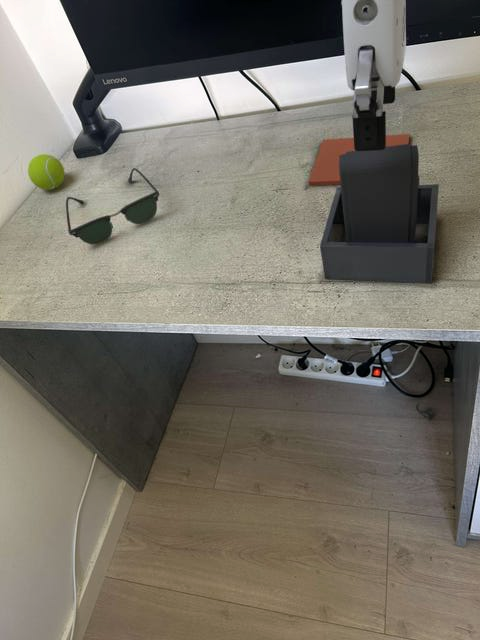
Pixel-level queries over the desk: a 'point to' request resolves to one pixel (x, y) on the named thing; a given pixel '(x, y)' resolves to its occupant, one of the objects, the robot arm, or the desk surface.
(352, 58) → the robot arm
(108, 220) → the sunglasses
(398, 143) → the mat
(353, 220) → the card reader
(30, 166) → the tennis ball
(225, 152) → the desk surface
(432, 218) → the grey open bin
